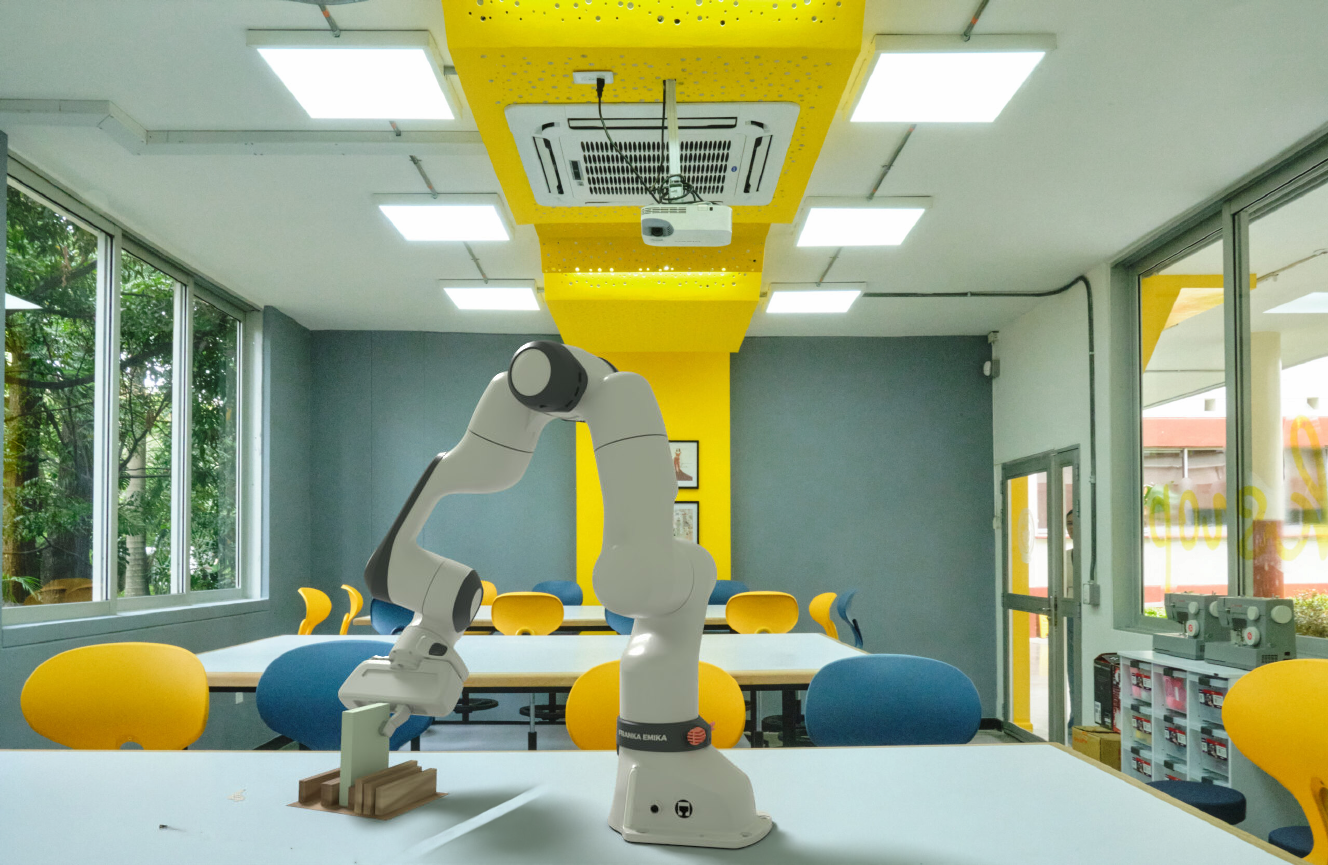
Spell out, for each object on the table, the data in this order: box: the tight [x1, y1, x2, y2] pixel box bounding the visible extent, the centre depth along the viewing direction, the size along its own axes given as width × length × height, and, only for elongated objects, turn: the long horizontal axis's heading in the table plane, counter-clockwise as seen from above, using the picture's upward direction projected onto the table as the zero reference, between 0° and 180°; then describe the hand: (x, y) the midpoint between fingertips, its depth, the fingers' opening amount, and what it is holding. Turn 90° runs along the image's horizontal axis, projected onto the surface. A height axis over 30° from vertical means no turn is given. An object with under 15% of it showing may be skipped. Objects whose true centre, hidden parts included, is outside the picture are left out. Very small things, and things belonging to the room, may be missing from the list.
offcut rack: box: [285, 759, 450, 821], centre depth 134 cm, size 18×14×6 cm
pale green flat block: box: [339, 703, 391, 806], centre depth 135 cm, size 2×8×13 cm, turn 157°
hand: (374, 733), depth 137 cm, fingers closed on pale green flat block, 2 cm apart
